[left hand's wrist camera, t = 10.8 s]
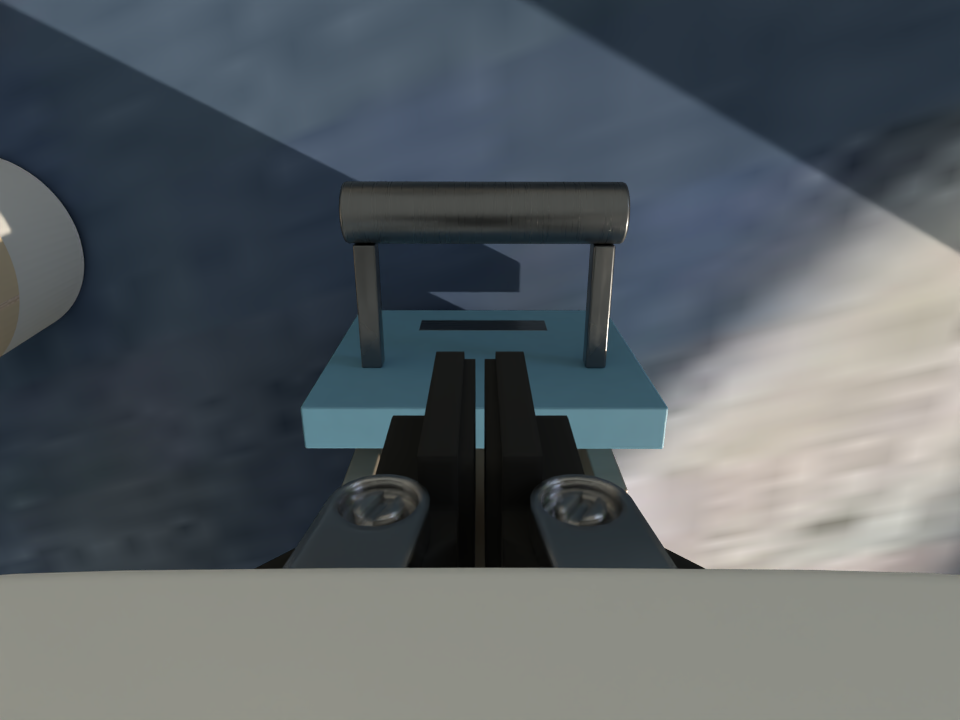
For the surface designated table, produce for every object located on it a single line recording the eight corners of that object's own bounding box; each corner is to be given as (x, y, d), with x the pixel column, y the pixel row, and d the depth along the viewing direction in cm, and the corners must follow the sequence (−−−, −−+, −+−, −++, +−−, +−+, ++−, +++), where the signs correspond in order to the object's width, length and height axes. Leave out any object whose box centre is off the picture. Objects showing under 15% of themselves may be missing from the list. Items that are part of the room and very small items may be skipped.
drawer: (349, 165, 22) (275, 194, 14) (617, 166, 22) (695, 194, 14) (380, 602, 29) (343, 786, 21) (582, 602, 29) (621, 787, 21)
